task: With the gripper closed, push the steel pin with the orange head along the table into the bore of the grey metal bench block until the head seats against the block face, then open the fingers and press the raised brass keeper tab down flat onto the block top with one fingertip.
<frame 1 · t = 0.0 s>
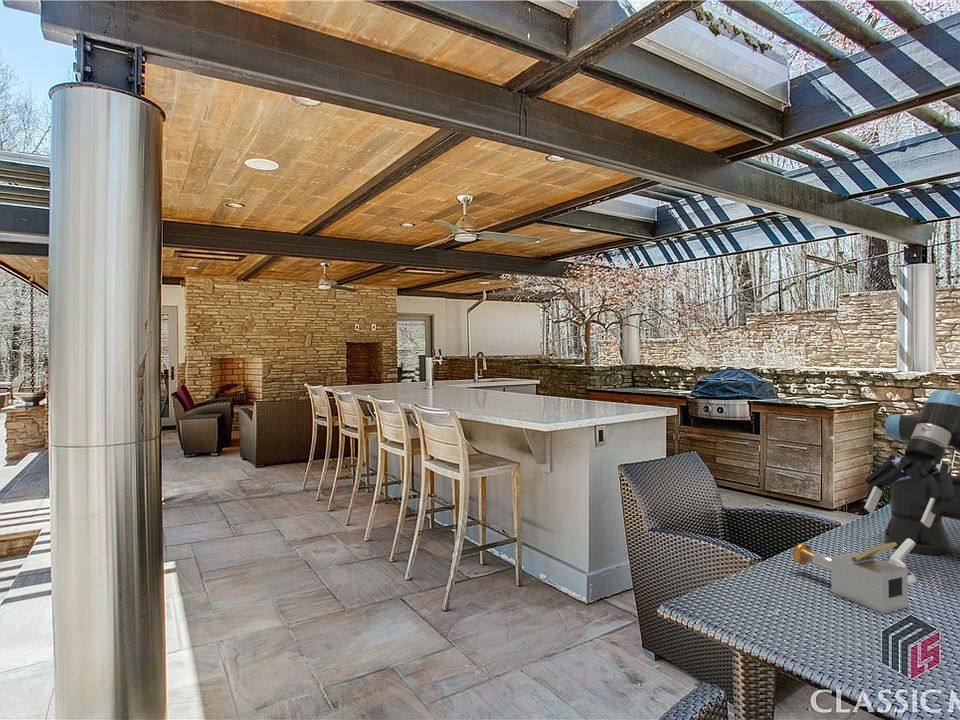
hand: (895, 517, 140), 15 cm above the table, tool tilted 35°, fingers open, 13 cm apart
hook: (897, 578, 141), on the table
bench block: (868, 599, 129), on the table
keeper tab: (874, 552, 127), point 11 cm above the table, hinge at 40.0°
pin: (821, 561, 140), point 5 cm above the table, slide at 0.0 cm
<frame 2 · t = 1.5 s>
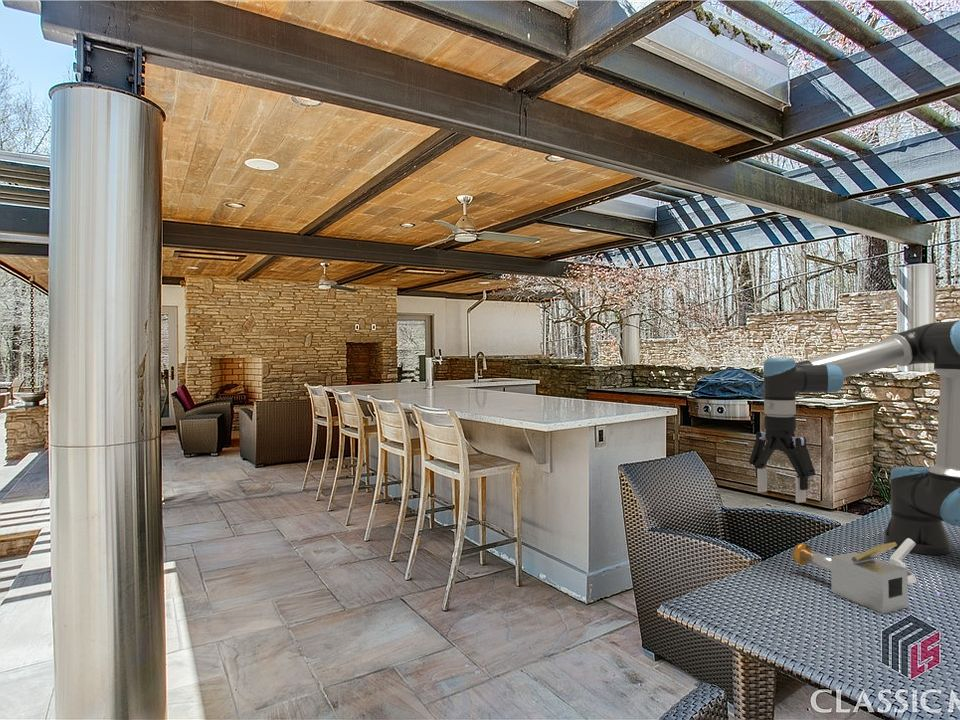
hand: (780, 496, 151), 18 cm above the table, tool pointing down, fingers open, 11 cm apart
nothing on the table moved.
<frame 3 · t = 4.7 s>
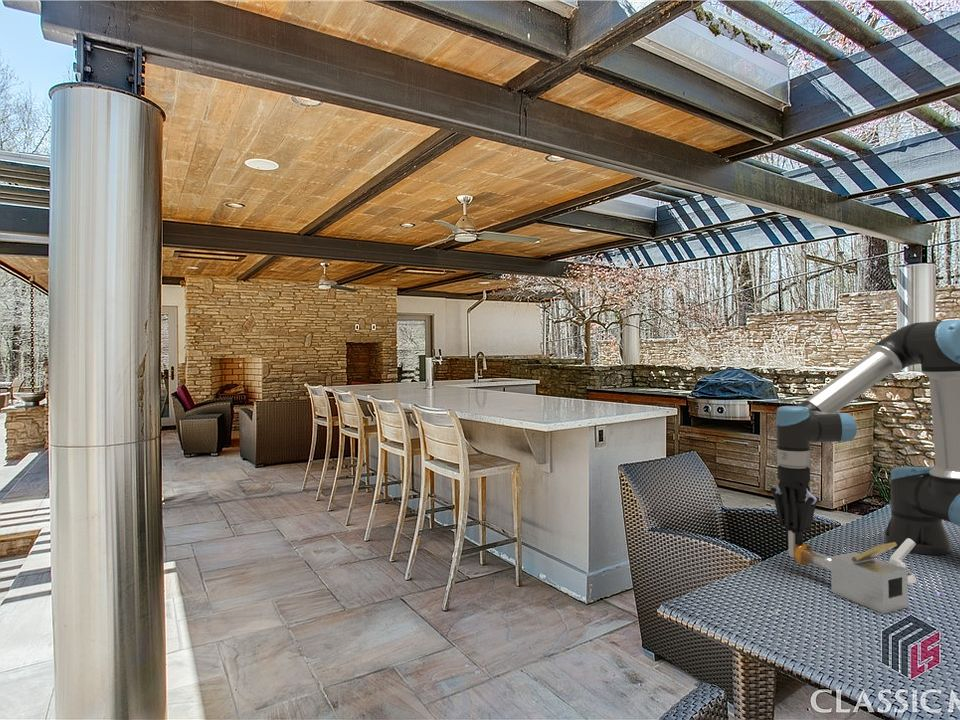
hand: (795, 555, 147), 4 cm above the table, tool pointing down, fingers closed
pin: (822, 561, 139), point 5 cm above the table, slide at 0.3 cm, touching gripper
everything else where it was.
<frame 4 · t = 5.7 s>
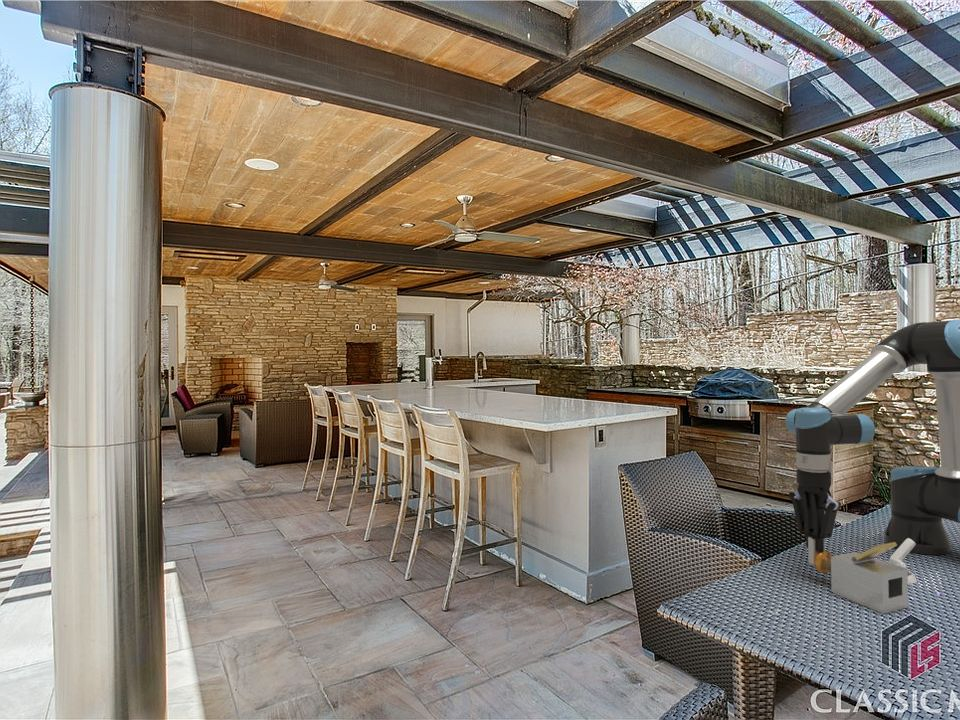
hand: (815, 562, 141), 4 cm above the table, tool pointing down, fingers closed
pin: (845, 569, 134), point 5 cm above the table, slide at 6.1 cm, touching gripper
everything else where it was.
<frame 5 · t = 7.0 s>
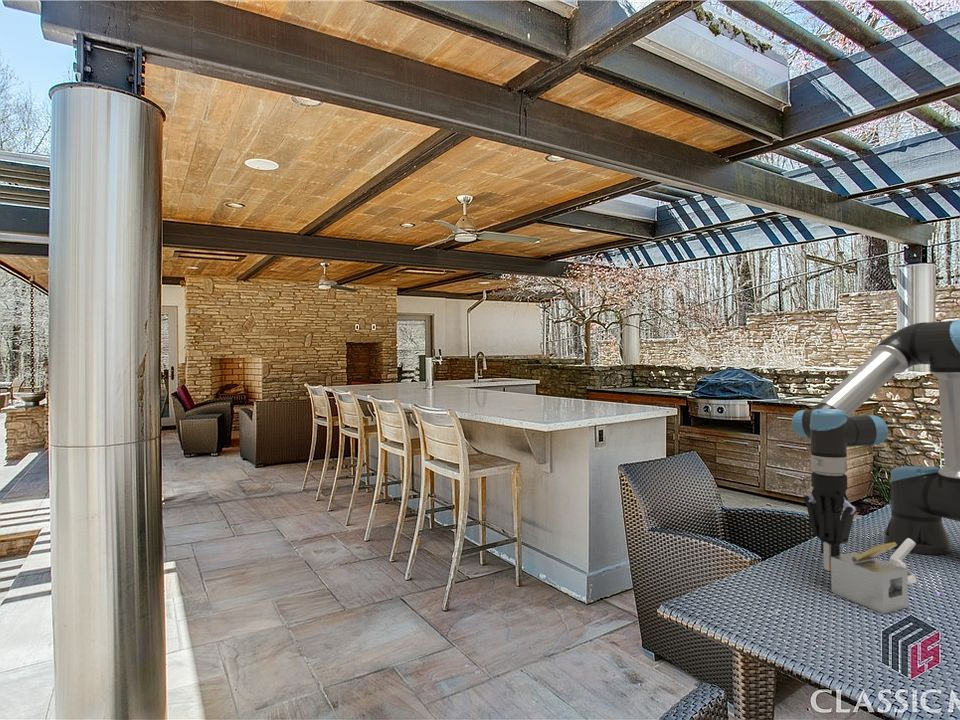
hand: (830, 568, 138), 4 cm above the table, tool pointing down, fingers closed
pin: (862, 575, 130), point 5 cm above the table, slide at 10.3 cm, touching gripper
everything else where it was.
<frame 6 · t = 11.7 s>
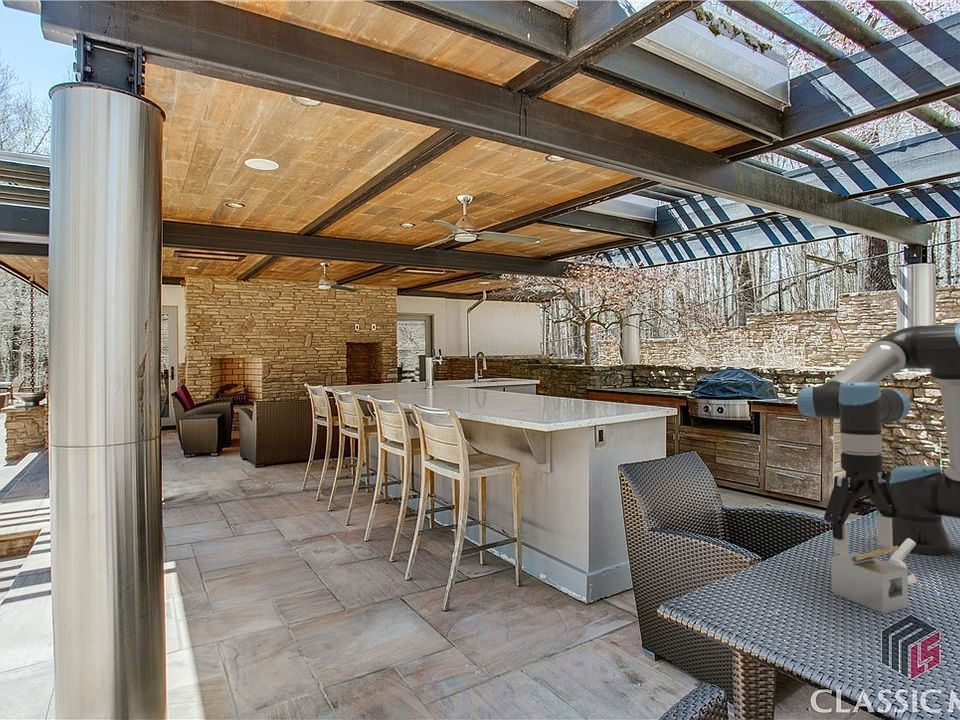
hand: (863, 550, 122), 14 cm above the table, tool pointing down, fingers open, 13 cm apart
keeper tab: (875, 553, 127), point 11 cm above the table, hinge at 33.1°, touching gripper
pin: (862, 575, 130), point 5 cm above the table, slide at 10.3 cm
everything else where it was.
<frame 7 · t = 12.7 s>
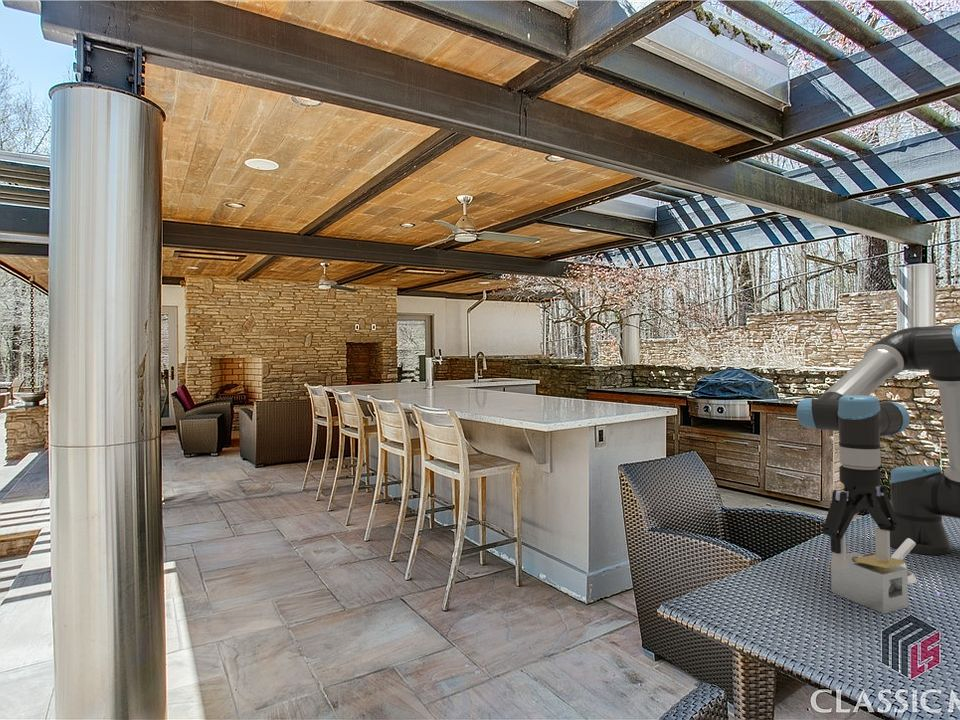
hand: (861, 563, 123), 11 cm above the table, tool pointing down, fingers open, 13 cm apart
keeper tab: (877, 560, 127), point 10 cm above the table, hinge at 7.3°, touching gripper
everything else where it was.
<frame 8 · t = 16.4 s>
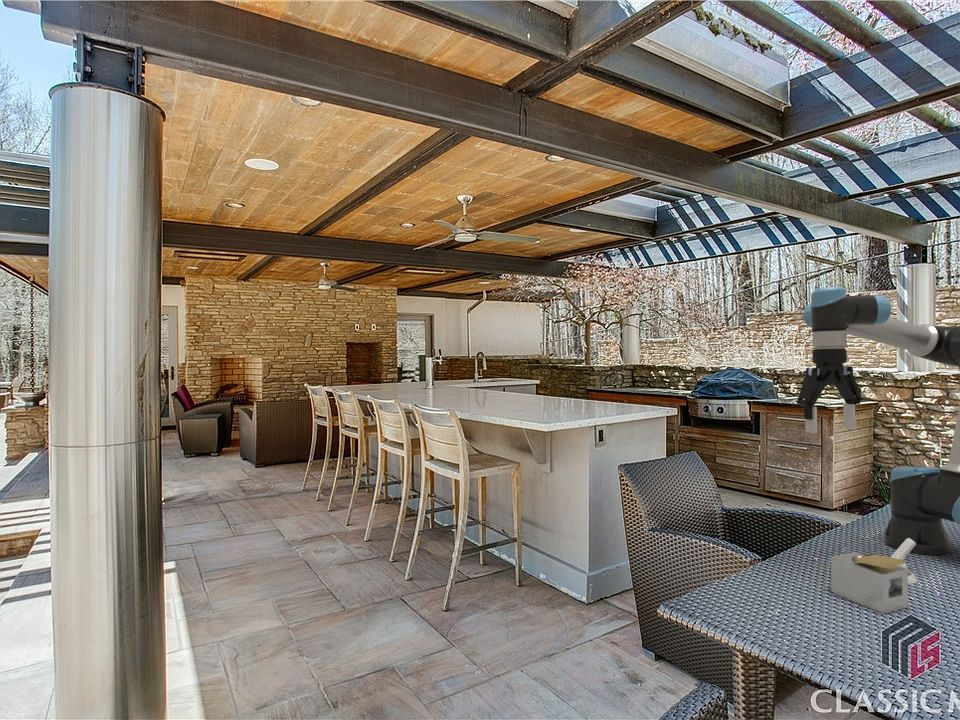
hand: (830, 430, 144), 37 cm above the table, tool pointing down, fingers open, 13 cm apart
keeper tab: (877, 560, 127), point 10 cm above the table, hinge at 7.3°
everything else where it was.
at the end: pin slide at 10.3 cm; keeper tab at +7° (first picture: +40°) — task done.
